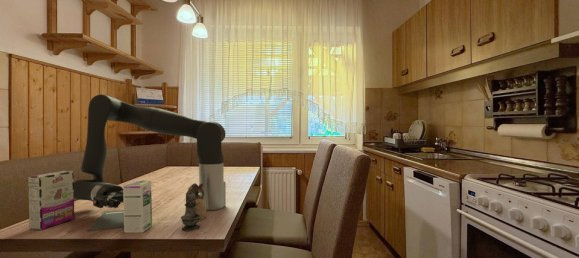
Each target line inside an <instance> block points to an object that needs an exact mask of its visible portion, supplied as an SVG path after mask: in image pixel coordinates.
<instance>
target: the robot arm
mask: <svg viewBox="0 0 579 258" xmlns="http://www.w3.org/2000/svg"><path fill="white" fill-rule="evenodd" d="M108 121H112V122H120V123H127V124H131V125H134V126H137V127H139V128H141V129H144V130H146V131H150V132H154V133H158V134H163V135H169V136H178V137H188V138H192V139H196V152H197V153H196V154H197V158H198V186H199V185H200V184H201V183H203V186H202V189H203V191H204V197H203V199H204V203H205V207H206V211H216V210H220V209H223V208H224V207H225V206H227V205H226V203H227V201H226V199H227V198H226V197H227V196H226V193H227V192H226V188H227V187H226V185H227V184H226V181H224V180H225V179H224V176H225V175H224V166H225V165H224V161H225V160H224V158H225V157H224V155H223V150H222V142H223V141H224V140H225V138H226V130H225V128H224V127H223V125H222V124H221V123H218V122H216V121H206V120H198V119H194V118H191V117H188V116H185V115H182V114H180V113H177V112H173V111H171V110H166V109H162V108H158V107H150V106H137V105H134V104H130V103H127V102H125V101H122V100H120V99H118V98H115V97H112V96H109V95H106V94H102V93H101V94H97V95H95V96H93V97H91V99H90V101H89V104H88V109H87V130H86V131H87V133H86V144H85V148H84V154H83V158H82V162H81V168H80V170H81V172H83V173H84V174H88V175H91V176H92V177H93V179H77V180H74V200H80V201H81V200H83V201H89V202H90V201H91V202H92V203H93V204H92V205H93V206H94V207H96V208H98V209H103V208H104V207H106V208H107V209H108V208H110V209H117V208H119V206H120V205H121V204H124V202H123V186H121V185H119V184H118V185H117V184H114V183H109V182H105V181H104V168H105V162H106V160H107V154H108V153H107V142H106V125H107V123H108ZM199 195H200V196H202V193H201V192H199Z"/></svg>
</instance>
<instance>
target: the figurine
mask: <svg viewBox="0 0 579 258" xmlns="http://www.w3.org/2000/svg"><path fill="white" fill-rule="evenodd" d="M202 186H203V183H201V184H200V185H199V184H197V183H192V184H191V185H190V186H189V187H188V188H187V192H185V195H186V194H187V193H189V192H190V189H191V190H192V192H194V193H195V194H196V203H197V205H196V213H197V214H199V215H201V217H200V220H199V222H200V221H202V220H205V219H206V218H207V210H206V207H205V203H204V199H203V197H204V191H203V189H202ZM199 192H201V193H202V196H200V195H199ZM184 211H185V212H186V210H184ZM185 212H184V213H185Z"/></svg>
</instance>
